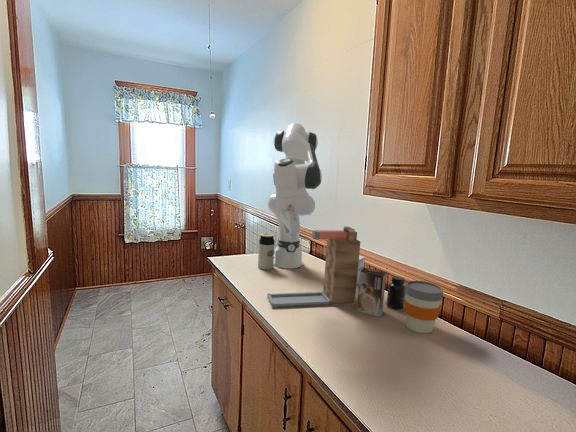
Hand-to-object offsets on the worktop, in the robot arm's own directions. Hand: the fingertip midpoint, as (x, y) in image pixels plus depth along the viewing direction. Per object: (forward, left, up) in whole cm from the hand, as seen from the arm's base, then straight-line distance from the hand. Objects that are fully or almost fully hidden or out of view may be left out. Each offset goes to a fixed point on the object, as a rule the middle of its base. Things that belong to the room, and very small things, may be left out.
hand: (290, 235), depth 129 cm
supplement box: (-17, +38, -27) cm, 49 cm away
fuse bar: (+3, +18, 0) cm, 18 cm away
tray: (+3, +5, -26) cm, 27 cm away
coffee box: (+15, +30, -27) cm, 43 cm away
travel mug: (-41, -1, -27) cm, 49 cm away
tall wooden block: (+3, +22, -26) cm, 34 cm away
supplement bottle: (+12, +43, -27) cm, 52 cm away
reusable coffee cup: (+29, +42, -27) cm, 57 cm away
